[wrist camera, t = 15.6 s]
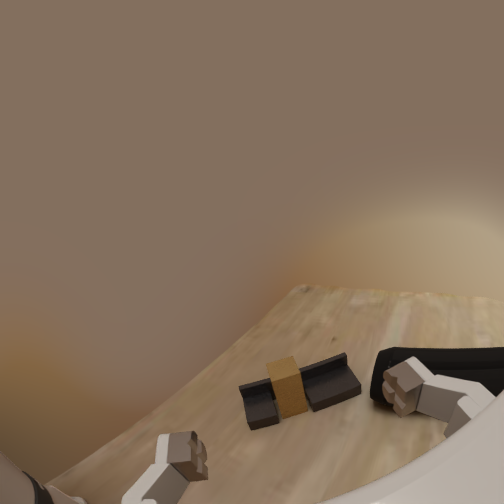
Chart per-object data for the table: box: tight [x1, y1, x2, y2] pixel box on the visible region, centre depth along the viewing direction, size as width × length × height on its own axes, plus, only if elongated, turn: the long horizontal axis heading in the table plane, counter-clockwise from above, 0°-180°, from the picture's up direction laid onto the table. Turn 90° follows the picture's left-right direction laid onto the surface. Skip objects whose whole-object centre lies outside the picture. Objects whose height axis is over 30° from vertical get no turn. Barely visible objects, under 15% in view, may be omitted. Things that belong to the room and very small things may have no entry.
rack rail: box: [239, 352, 361, 430], centre depth 43 cm, size 7×20×5 cm, turn 98°
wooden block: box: [266, 356, 308, 419], centre depth 41 cm, size 4×4×10 cm
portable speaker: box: [370, 347, 504, 406], centre depth 31 cm, size 26×10×10 cm, turn 56°
